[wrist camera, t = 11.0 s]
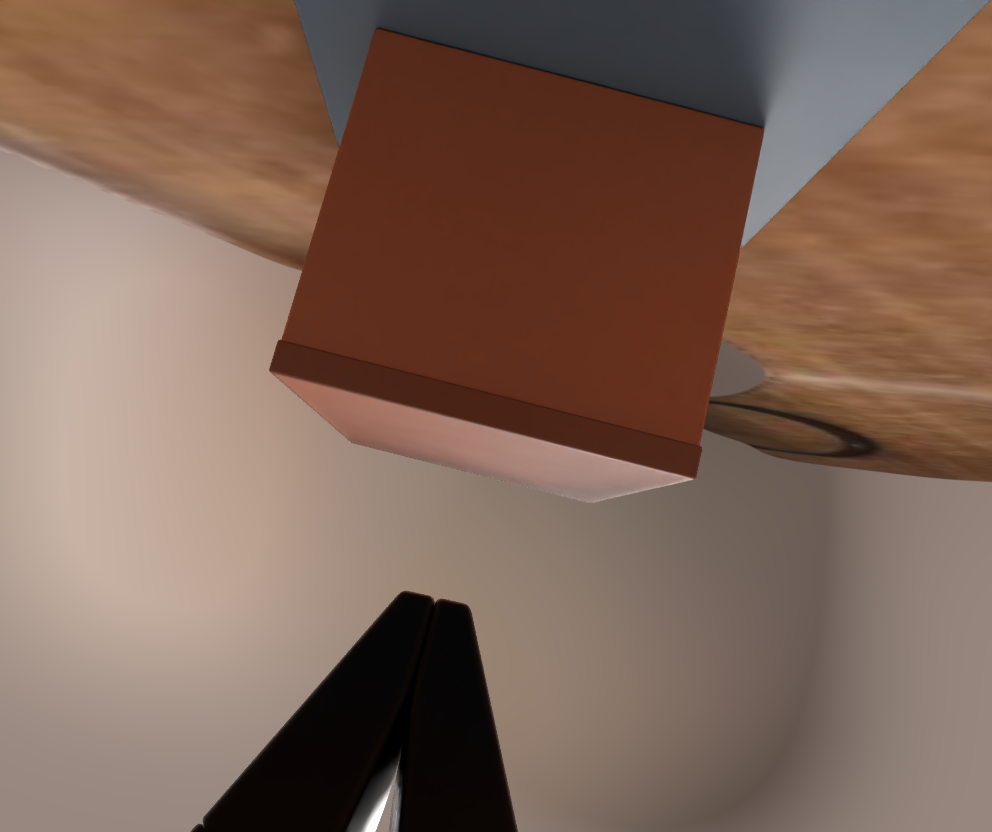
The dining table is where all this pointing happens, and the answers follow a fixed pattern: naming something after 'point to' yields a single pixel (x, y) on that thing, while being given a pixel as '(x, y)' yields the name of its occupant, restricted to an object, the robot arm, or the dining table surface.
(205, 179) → the dining table surface
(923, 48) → the mat
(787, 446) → the dining table surface
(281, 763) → the robot arm
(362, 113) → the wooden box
